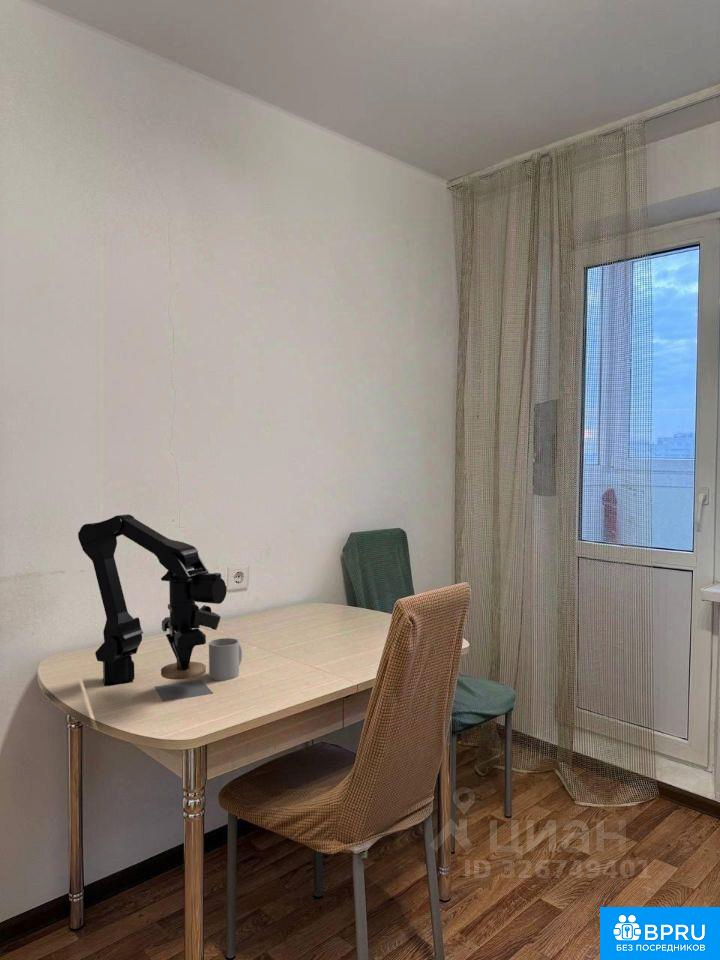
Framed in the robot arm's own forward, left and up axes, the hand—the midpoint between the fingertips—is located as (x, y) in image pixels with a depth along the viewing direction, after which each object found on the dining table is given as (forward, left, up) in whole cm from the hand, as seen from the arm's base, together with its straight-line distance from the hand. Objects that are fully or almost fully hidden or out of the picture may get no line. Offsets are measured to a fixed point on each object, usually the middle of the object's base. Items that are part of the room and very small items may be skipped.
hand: (183, 667), depth 155 cm
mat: (0, 0, -6) cm, 6 cm away
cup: (+12, +7, -6) cm, 15 cm away
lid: (0, 0, -1) cm, 1 cm away
